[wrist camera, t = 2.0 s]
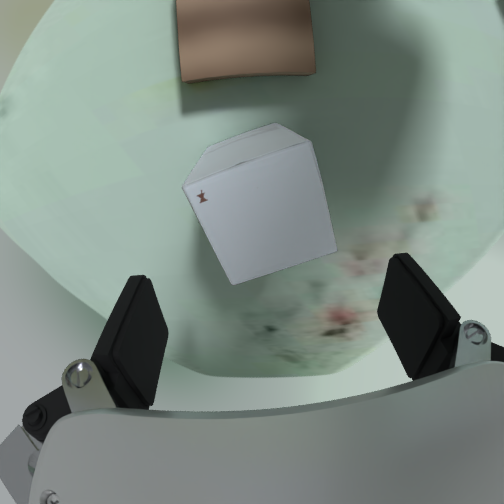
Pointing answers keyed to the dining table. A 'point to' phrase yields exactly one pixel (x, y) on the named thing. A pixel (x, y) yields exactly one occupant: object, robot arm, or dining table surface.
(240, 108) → the dining table surface
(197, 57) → the walnut base
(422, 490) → the robot arm
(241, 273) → the supplement box
